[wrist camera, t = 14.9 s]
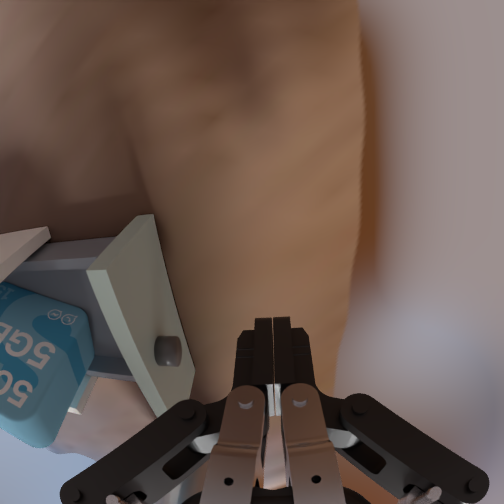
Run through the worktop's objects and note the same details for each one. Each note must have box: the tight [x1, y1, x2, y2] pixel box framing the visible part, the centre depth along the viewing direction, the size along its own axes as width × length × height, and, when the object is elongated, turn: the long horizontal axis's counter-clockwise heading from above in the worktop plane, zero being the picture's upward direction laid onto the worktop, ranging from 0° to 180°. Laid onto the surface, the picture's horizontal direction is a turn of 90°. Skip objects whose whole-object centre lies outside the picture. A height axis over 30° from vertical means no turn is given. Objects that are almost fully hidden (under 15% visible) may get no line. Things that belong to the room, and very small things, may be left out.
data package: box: [0, 282, 95, 448], centre depth 17 cm, size 12×4×12 cm, turn 79°
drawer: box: [2, 214, 195, 418], centre depth 20 cm, size 15×23×7 cm, turn 95°
